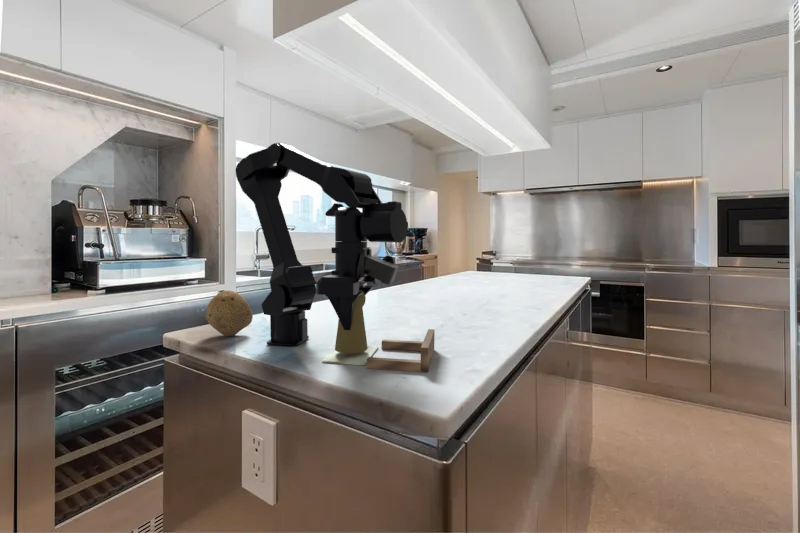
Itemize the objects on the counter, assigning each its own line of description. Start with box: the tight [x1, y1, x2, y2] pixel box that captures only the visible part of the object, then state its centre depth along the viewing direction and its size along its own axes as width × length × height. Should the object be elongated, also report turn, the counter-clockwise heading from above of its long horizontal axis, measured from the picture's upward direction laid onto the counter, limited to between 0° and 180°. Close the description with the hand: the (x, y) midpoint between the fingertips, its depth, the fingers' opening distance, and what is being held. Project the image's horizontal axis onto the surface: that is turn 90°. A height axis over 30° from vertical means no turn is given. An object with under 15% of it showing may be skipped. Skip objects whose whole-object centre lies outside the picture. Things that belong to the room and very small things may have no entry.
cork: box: [334, 290, 368, 353], centre depth 70 cm, size 6×6×11 cm
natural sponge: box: [205, 290, 254, 337], centre depth 83 cm, size 9×9×10 cm
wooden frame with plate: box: [321, 328, 436, 373], centre depth 69 cm, size 18×12×4 cm
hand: (351, 326), depth 70 cm, fingers closed on cork, 4 cm apart
